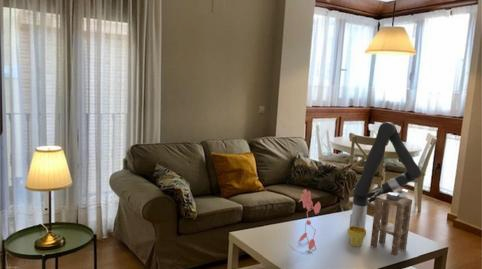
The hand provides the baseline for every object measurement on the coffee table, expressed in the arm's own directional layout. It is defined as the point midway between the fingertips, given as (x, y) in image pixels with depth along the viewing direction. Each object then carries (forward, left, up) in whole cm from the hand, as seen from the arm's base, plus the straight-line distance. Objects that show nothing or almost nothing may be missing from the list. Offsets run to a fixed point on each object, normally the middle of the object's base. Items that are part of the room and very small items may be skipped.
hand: (368, 199), depth 250 cm
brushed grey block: (+19, 0, +7) cm, 20 cm away
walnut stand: (+19, -6, -24) cm, 31 cm away
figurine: (-15, -47, -24) cm, 55 cm away
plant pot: (+4, -18, -24) cm, 31 cm away
